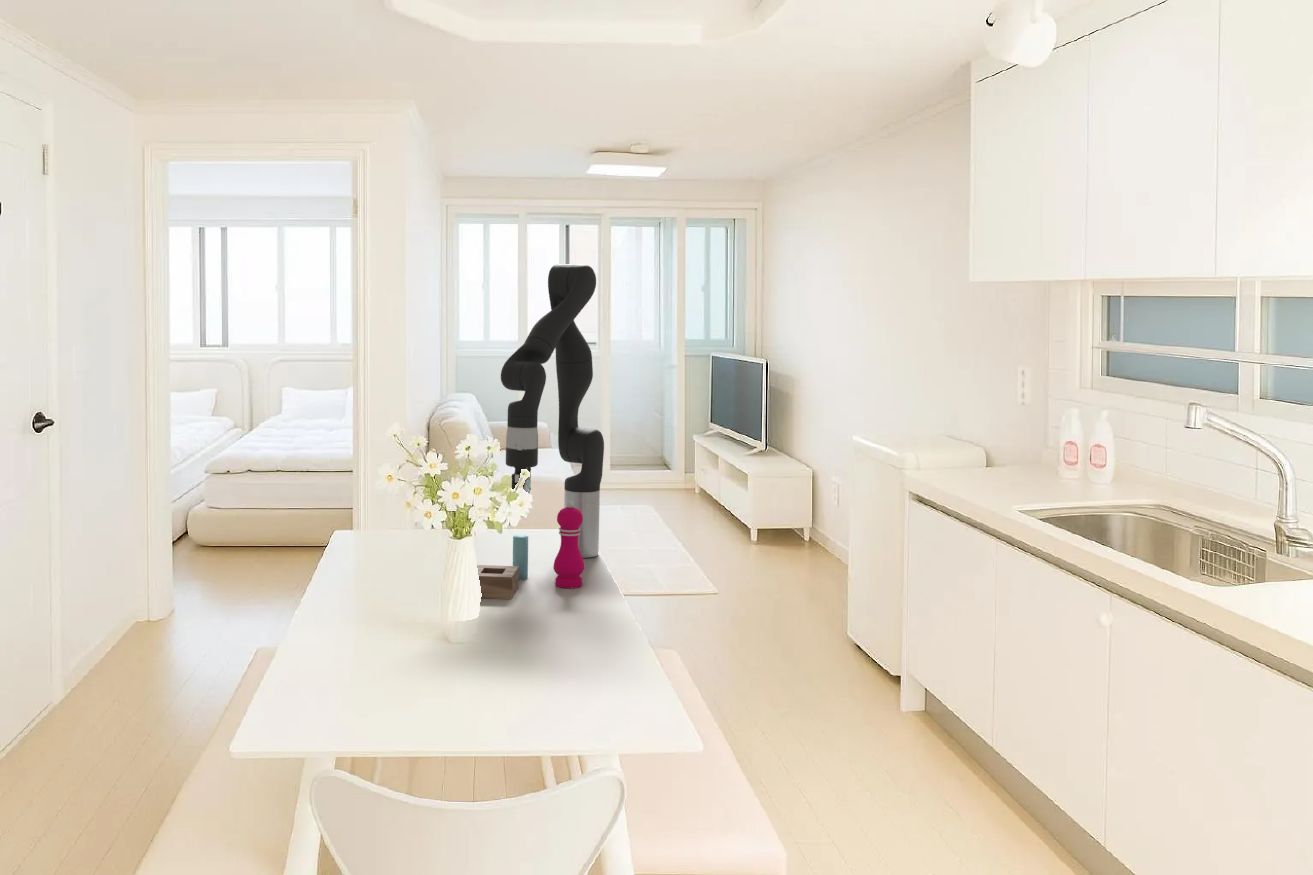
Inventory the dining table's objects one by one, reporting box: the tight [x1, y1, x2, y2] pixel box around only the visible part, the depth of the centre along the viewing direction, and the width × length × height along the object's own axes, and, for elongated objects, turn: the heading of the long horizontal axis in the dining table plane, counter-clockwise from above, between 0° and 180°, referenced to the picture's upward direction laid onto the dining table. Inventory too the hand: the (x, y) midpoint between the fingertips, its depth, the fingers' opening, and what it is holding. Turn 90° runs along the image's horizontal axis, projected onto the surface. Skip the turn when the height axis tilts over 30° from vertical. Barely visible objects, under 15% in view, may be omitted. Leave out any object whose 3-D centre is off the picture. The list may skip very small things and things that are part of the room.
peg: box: [512, 534, 529, 581], centre depth 261 cm, size 4×4×10 cm
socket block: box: [476, 564, 520, 600], centre depth 247 cm, size 10×10×5 cm
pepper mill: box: [553, 501, 586, 589], centre depth 255 cm, size 7×7×20 cm
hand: (520, 513), depth 259 cm, fingers open, 8 cm apart
